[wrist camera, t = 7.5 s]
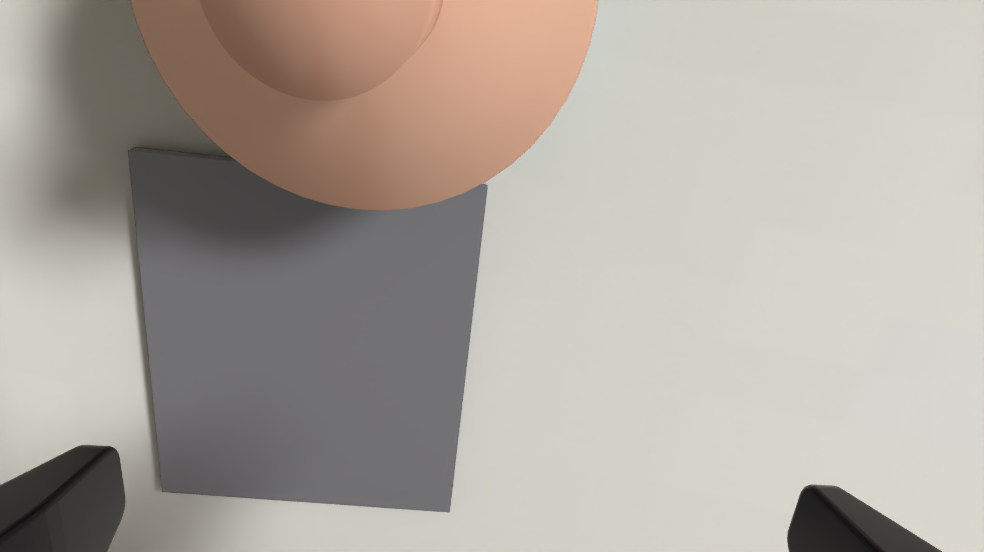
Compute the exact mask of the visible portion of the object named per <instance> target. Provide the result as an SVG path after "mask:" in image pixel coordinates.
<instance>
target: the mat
mask: <svg viewBox="0 0 984 552" xmlns="http://www.w3.org/2000/svg"><path fill="white" fill-rule="evenodd" d="M128 155H129V165H130V175H131V185H132V195H133V205H134V215H135V225H136V235H137V245H138V255H139V265H140V275H141V285H142V295H143V305H144V315H145V325H146V335H147V345H148V355H149V365H150V375H151V385H152V395H153V405H154V415H155V425H156V435H157V445H158V455H159V465H160V476H161V486H162V492H171V493H185V494H199V495H213V496H227V497H241V498H255V499H269V500H283V501H297V502H311V503H325V504H339V505H353V506H367V507H381V508H395V509H409V510H423V511H437V512H450V505H451V496H452V487H453V479H454V470H455V462H456V453H457V444H458V436H459V427H460V419H461V410H462V401H463V393H464V384H465V376H466V367H467V359H468V350H469V341H470V333H471V324H472V316H473V307H474V298H475V290H476V281H477V273H478V264H479V256H480V247H481V238H482V230H483V221H484V213H485V204H486V195H487V185H486V184H480V185H478V186H476V187H474V188H472V189H470V190H468V191H466V192H464V193H462V194H460V195H457V196H454V197H451V198H448V199H445V200H443V201H440V202H437V203H432V204H428V205H423V206H418V207H414V208H406V209H394V210H363V209H352V208H346V207H340V206H334V205H329V204H325V203H322V202H318V201H315V200H312V199H308V198H305V197H302V196H299V195H297V194H295V193H292V192H290V191H288V190H285V189H283V188H281V187H278V186H276V185H274V184H272V183H271V182H269V181H267V180H265V179H264V178H262V177H260V176H258V175H257V174H255V173H253V172H251V171H250V170H248V169H247V168H246V167H244V166H243V165H242V164H240V163H239V162H238V161H236V160H235V159H233V158H231V157H222V156H213V155H203V154H194V153H184V152H175V151H165V150H156V149H146V148H137V147H134V148H132V149H130V150H128Z"/></svg>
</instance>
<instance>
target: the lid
mask: <svg viewBox="0 0 984 552" xmlns="http://www.w3.org/2000/svg"><path fill="white" fill-rule="evenodd" d="M131 4H132V7H133V11H134V15H135V18H136V22H137V24H138V27H139V29H140V32H141V34H142V37H143V39H144V42H145V44H146V47H147V49H148V52H149V54H150V56H151V58H152V59H153V61H154V63H155V65H156V67H157V69H158V71H159V73H160V74H161V76H162V78H163V80H164V82H165V83H166V85H167V86H168V88H169V89H170V90H171V92H172V93H173V95H174V96H175V98H176V99H177V101H178V102H179V104H180V105H181V106H182V108H183V109H184V110H185V111H186V113H187V114H188V115H189V116H190V117H191V118H192V120H193V121H194V122H195V123H196V124H197V125H198V126H199V128H200V129H201V130H202V131H203V132H204V133H205V134H206V135H207V136H208V137H209V138H210V139H211V140H212V141H214V142H215V143H216V144H217V145H218V146H219V147H220V148H221V149H222V150H223V151H224V152H225V153H227V154H228V155H229V156H231V157H232V158H233V159H235V160H236V161H238V162H239V163H240V164H242V165H243V166H244V167H246V168H247V169H248V170H250V171H251V172H253V173H255V174H257V175H258V176H260V177H262V178H264V179H265V180H267V181H269V182H271V183H272V184H274V185H276V186H278V187H281V188H283V189H285V190H288V191H290V192H292V193H295V194H297V195H299V196H302V197H305V198H308V199H312V200H315V201H318V202H322V203H325V204H329V205H334V206H340V207H346V208H352V209H363V210H394V209H406V208H414V207H418V206H423V205H428V204H432V203H437V202H440V201H443V200H445V199H448V198H451V197H454V196H457V195H460V194H462V193H464V192H466V191H468V190H470V189H472V188H474V187H476V186H478V185H480V184H482V183H484V182H486V181H488V180H489V179H491V178H492V177H494V176H495V175H497V174H498V173H500V172H501V171H503V170H504V169H505V168H507V167H508V166H510V165H511V164H512V163H513V162H514V161H515V160H517V159H518V158H519V157H520V156H521V155H522V154H523V153H524V152H526V151H527V150H528V149H529V148H530V147H531V146H532V145H533V144H534V143H535V141H536V140H537V139H538V138H539V137H540V136H541V135H542V133H543V132H544V131H545V130H546V129H547V128H548V127H549V125H550V124H551V122H552V121H553V119H554V118H555V116H556V115H557V113H558V112H559V110H560V109H561V107H562V106H563V104H564V103H565V102H566V100H567V98H568V96H569V94H570V92H571V90H572V88H573V86H574V84H575V82H576V80H577V78H578V76H579V74H580V71H581V68H582V65H583V63H584V60H585V57H586V54H587V51H588V49H589V46H590V42H591V38H592V33H593V29H594V25H595V20H596V16H597V9H598V0H131Z"/></svg>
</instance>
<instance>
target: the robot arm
mask: <svg viewBox="0 0 984 552" xmlns="http://www.w3.org/2000/svg"><path fill="white" fill-rule="evenodd" d="M124 508H125V492H124V485H123V478H122V471H121V464H120V457H119V454H118V452H117V450H116V449H115V448H113V447H111V446H95V445H81V446H78V447H75V448H73V449H71V450H69V451H67V452H65V453H63V454H61V455H59V456H57V457H55V458H53V459H51V460H49V461H47V462H45V463H43V464H42V465H40V466H38V467H36V468H34V469H32V470H30V471H28V472H26V473H24V474H22V475H20V476H18V477H16V478H14V479H12V480H10V481H8V482H6V483H4V484H2V485H0V552H107V551H108V549H109V546H110V544H111V542H112V540H113V537H114V535H115V533H116V530H117V528H118V526H119V524H120V521H121V519H122V516H123V513H124ZM787 542H788V549H789V552H942V551H940V550H939V549H937V548H935V547H934V546H932V545H931V544H929V543H927V542H926V541H924V540H923V539H921V538H919V537H918V536H916V535H915V534H913V533H911V532H910V531H908V530H907V529H905V528H903V527H902V526H900V525H899V524H897V523H895V522H894V521H892V520H891V519H889V518H888V517H886V516H884V515H883V514H881V513H880V512H878V511H876V510H875V509H873V508H872V507H870V506H868V505H867V504H865V503H864V502H862V501H860V500H859V499H857V498H856V497H854V496H852V495H851V494H849V493H848V492H846V491H844V490H843V489H841V488H839V487H836V486H829V485H808V486H806V487H804V489H803V490H802V491H801V494H800V496H799V499H798V502H797V505H796V508H795V511H794V514H793V517H792V520H791V523H790V526H789V530H788V536H787Z"/></svg>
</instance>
